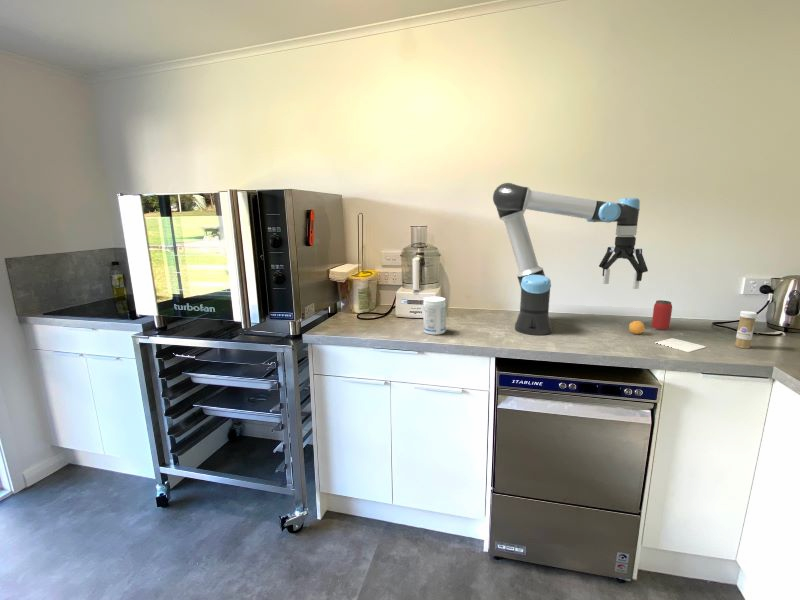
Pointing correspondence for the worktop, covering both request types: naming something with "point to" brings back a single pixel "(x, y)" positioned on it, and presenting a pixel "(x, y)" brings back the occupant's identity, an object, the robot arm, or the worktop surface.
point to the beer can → (662, 315)
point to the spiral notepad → (681, 345)
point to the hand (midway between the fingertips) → (620, 286)
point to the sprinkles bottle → (745, 329)
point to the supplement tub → (434, 315)
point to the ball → (636, 327)
